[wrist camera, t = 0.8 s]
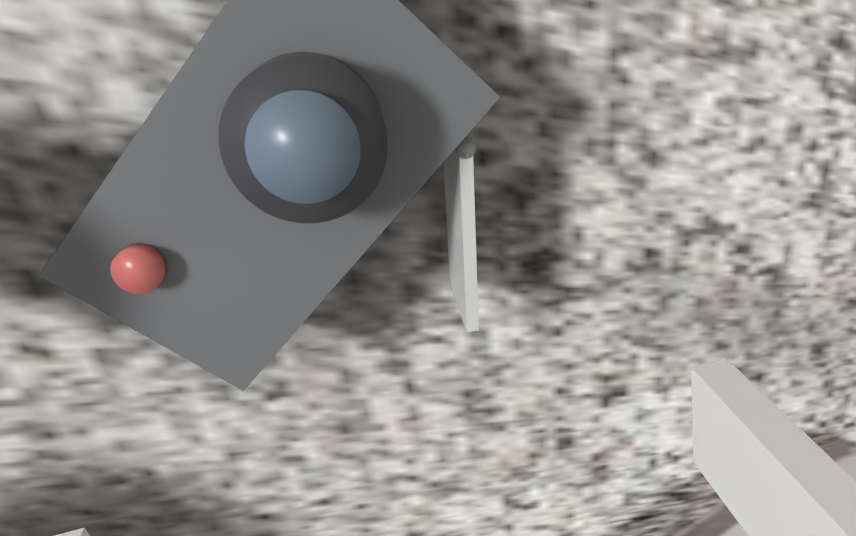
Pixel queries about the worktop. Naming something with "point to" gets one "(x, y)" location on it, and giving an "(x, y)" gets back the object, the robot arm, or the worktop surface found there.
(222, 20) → the camera body
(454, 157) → the side door
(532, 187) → the worktop surface
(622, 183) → the worktop surface
